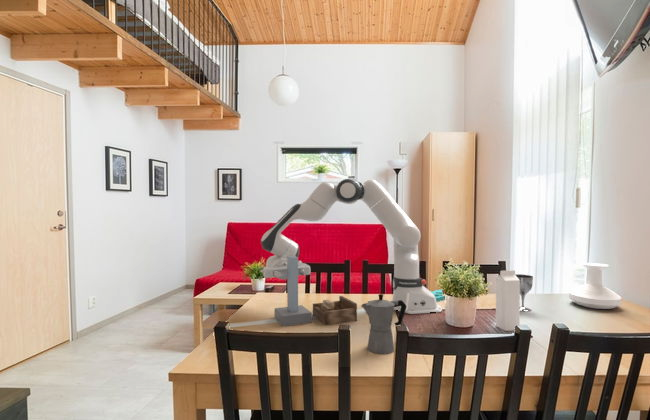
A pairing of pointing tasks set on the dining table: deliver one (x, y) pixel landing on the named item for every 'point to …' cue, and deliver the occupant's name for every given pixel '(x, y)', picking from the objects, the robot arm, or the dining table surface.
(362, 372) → the dining table surface
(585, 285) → the candle holder
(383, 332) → the coffeepot
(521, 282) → the wine glass
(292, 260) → the panel
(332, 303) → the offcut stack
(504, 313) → the milk
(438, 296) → the alien figure
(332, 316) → the brown wooden box
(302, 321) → the stand
